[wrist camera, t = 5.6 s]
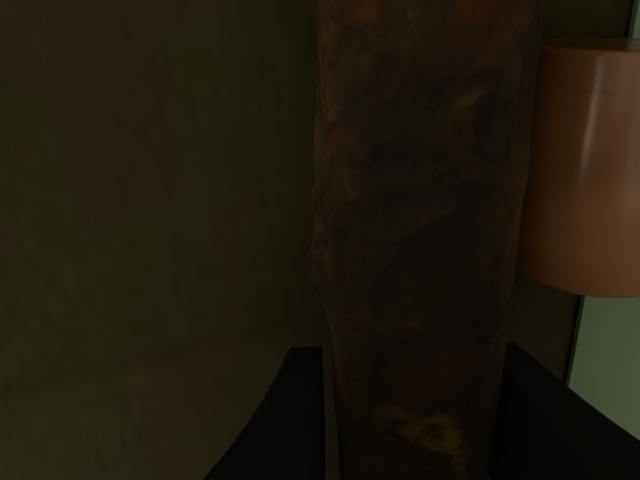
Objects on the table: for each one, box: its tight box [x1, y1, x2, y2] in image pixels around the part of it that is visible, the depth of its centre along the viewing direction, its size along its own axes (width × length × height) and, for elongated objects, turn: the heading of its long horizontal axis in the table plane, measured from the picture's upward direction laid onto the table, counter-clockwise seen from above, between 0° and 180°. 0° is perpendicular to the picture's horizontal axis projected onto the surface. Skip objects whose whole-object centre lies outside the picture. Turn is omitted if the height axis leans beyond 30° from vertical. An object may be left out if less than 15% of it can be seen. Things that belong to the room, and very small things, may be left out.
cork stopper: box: [515, 38, 640, 298], centre depth 10 cm, size 3×4×3 cm
